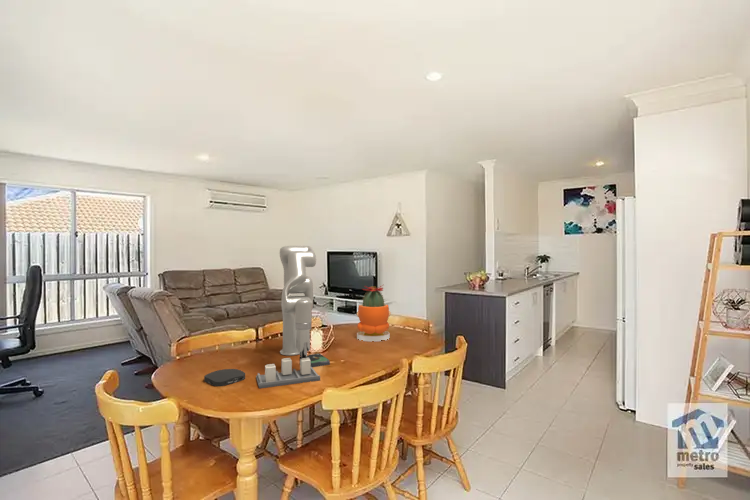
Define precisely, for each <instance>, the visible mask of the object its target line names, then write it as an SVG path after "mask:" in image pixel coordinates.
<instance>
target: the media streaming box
mask: <svg viewBox="0 0 750 500" xmlns="http://www.w3.org/2000/svg"><path fill="white" fill-rule="evenodd" d="M203 379H204V382H205V383H206V384H209V385H210V386H213V387H225V386H228V385H232V384H235V383H238V382H241V381H244V380H245V379H246V372H244V371H243V370H241V369H237V368H225V369H219V370H214V371H212V372H209V373H206V374H205V375H204V376H203Z"/></svg>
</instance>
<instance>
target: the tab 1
mask: <svg viewBox="0 0 750 500" xmlns="http://www.w3.org/2000/svg"><path fill="white" fill-rule="evenodd" d="M276 367H277V366H276V365H275V363H269V364H266V365H264V375H265V381H266V382H272V381H276V371H277V369H276Z"/></svg>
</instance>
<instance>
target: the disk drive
mask: <svg viewBox="0 0 750 500" xmlns="http://www.w3.org/2000/svg"><path fill="white" fill-rule="evenodd" d="M308 357H309V359H310V360H311V367H312V368H316V367H324V366H330V365H331V361H330V359H329V358H327V357H325V356H324V355H323V354H321V353H313V354H307V358H308Z"/></svg>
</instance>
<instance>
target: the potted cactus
mask: <svg viewBox="0 0 750 500" xmlns="http://www.w3.org/2000/svg"><path fill="white" fill-rule="evenodd" d="M383 286H384V284H382V285H380V286H378V287H375V286H372V285H371V286H369V287H368V286H367V285H364V288H362V289H361V290H363V291H366V292H365V294H364V296H363V297H362V301H361V304H359V305H358V309H357V312H356V316H357V318H358V319H359V320H358V321H359V322H358V323H357V330H358V332H356V339H357V340H358V339H359V340H358V341H361V340H363V341H362V342H372V341H374V342H382V341H381V340H385V341H388V340H390V339H389V338H391V337H390V336H391V335H390V332H389V331H388V330H389V329H390V323H389V322H388V321H389V317H390V316H391V315H392V312H391V310H390V308H389V307H390V306H389V305H388V304H386V303H385V302H386V301H385V298H384V296H383V294H382V291H384V287H383ZM387 339H388V340H387Z"/></svg>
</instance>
